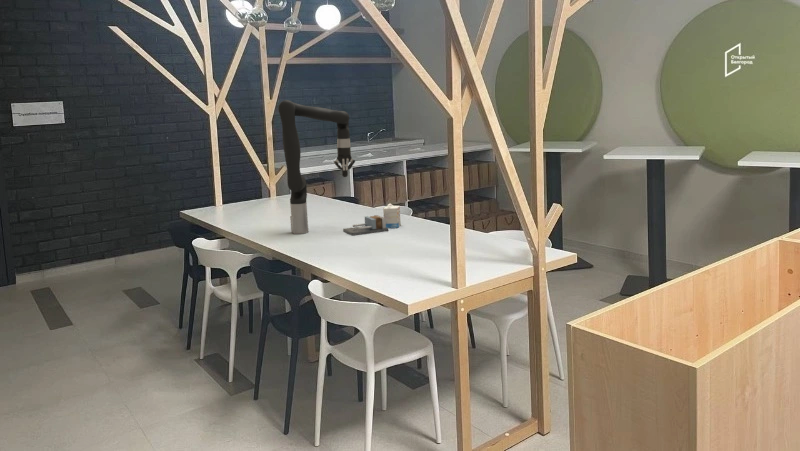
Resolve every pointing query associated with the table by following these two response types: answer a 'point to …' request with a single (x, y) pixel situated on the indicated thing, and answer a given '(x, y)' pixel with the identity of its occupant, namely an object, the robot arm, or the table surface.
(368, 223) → the sliding jaw
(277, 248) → the table surface
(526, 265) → the table surface
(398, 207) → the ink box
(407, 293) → the table surface
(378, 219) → the block
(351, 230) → the vise base
